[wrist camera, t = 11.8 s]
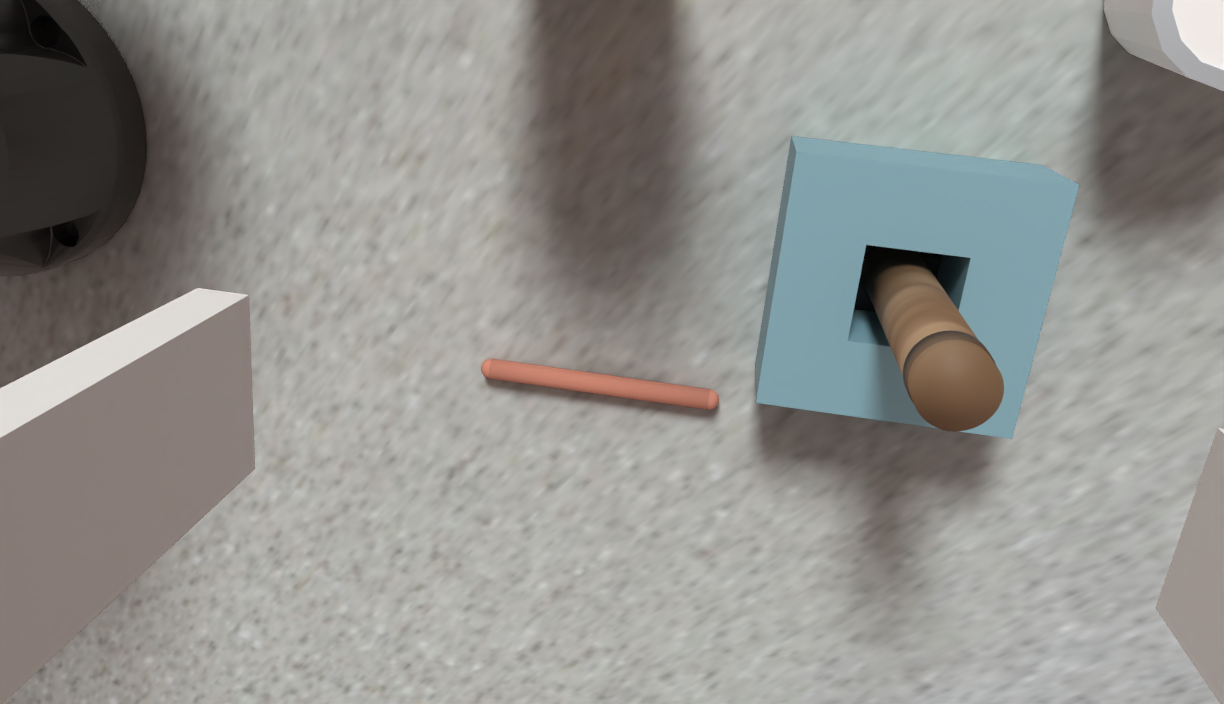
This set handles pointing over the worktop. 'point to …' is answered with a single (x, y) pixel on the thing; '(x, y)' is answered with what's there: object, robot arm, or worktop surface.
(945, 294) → the round wooden peg
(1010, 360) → the blue square hole block
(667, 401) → the salmon red rod
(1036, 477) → the worktop surface
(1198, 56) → the white cylinder
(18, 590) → the robot arm
